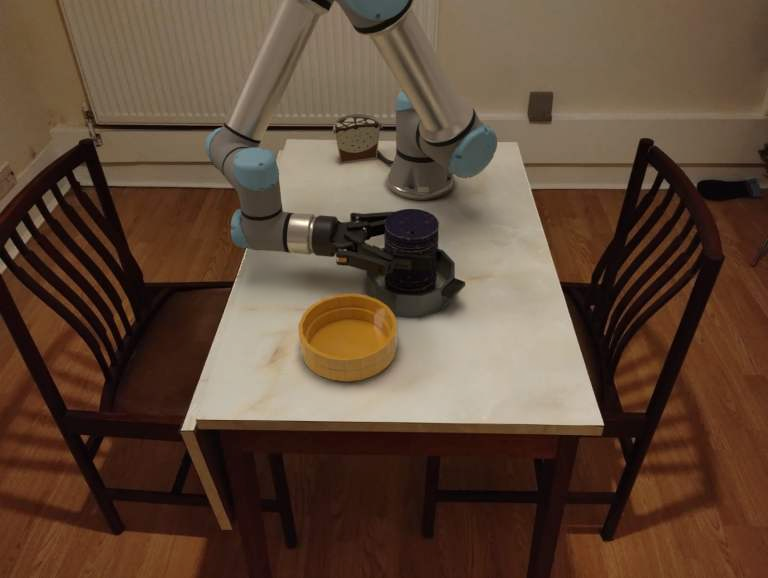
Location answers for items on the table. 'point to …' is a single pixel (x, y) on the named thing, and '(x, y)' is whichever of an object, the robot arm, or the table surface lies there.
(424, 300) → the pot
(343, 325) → the bowl
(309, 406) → the table surface
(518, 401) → the table surface
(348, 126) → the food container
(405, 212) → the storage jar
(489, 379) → the table surface
